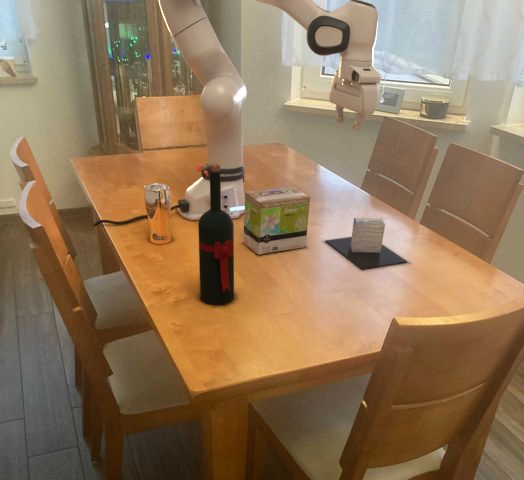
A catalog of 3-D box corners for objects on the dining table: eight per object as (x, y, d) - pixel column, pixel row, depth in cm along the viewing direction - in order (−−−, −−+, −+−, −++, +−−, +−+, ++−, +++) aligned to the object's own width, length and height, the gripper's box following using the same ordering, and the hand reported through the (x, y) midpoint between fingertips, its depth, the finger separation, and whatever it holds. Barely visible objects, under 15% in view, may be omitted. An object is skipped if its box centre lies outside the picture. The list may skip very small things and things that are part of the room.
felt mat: (361, 270, 141) (362, 268, 141) (325, 241, 156) (325, 240, 156) (406, 262, 145) (407, 261, 145) (367, 236, 161) (367, 234, 161)
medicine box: (378, 247, 152) (382, 217, 148) (380, 254, 149) (385, 223, 144) (350, 246, 152) (353, 216, 148) (351, 253, 149) (355, 222, 144)
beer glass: (177, 237, 155) (174, 184, 147) (166, 246, 150) (162, 192, 142) (155, 233, 157) (151, 181, 149) (143, 242, 152) (138, 188, 143)
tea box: (259, 256, 146) (260, 202, 138) (242, 243, 153) (243, 191, 145) (306, 247, 152) (311, 195, 144) (289, 235, 159) (292, 184, 151)
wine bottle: (210, 312, 120) (207, 174, 103) (195, 292, 127) (189, 161, 111) (243, 306, 123) (245, 171, 106) (226, 287, 130) (225, 158, 114)
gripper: (326, 66, 154) (321, 118, 161) (364, 77, 138) (356, 134, 146) (346, 66, 156) (340, 118, 164) (385, 76, 140) (376, 133, 148)
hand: (348, 125), depth 155 cm, fingers open, 8 cm apart
